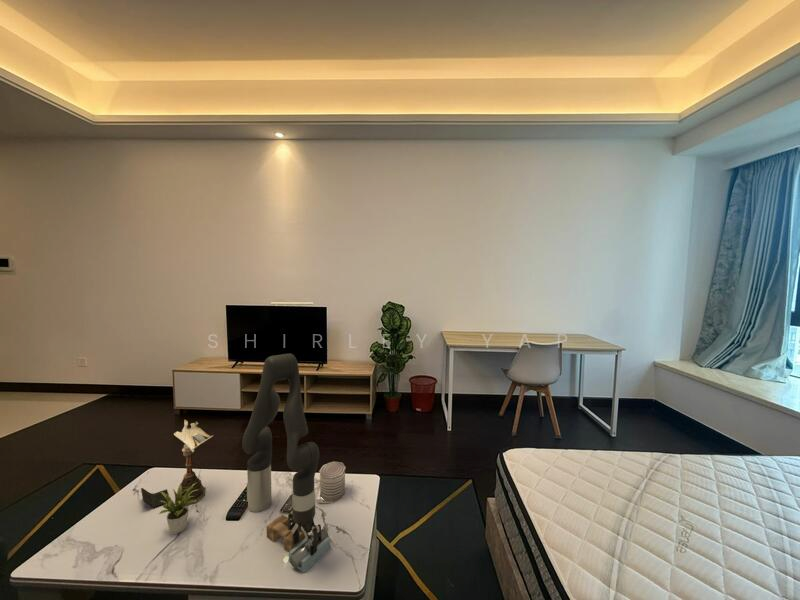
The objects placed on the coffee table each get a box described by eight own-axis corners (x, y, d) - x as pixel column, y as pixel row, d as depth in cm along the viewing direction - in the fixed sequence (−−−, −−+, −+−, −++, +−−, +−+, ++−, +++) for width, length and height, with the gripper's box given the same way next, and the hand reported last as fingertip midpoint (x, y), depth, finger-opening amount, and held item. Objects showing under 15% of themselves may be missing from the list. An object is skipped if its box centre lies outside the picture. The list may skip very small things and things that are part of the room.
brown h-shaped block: (266, 537, 122) (266, 523, 121) (282, 525, 128) (282, 511, 127) (291, 554, 114) (291, 539, 114) (307, 541, 120) (306, 526, 120)
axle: (297, 571, 107) (298, 560, 106) (289, 564, 109) (290, 553, 108) (328, 542, 119) (329, 532, 118) (320, 536, 121) (321, 526, 120)
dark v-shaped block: (176, 496, 142) (157, 485, 138) (161, 513, 138) (141, 502, 133) (167, 489, 149) (149, 478, 145) (153, 506, 145) (134, 495, 140)
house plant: (207, 529, 126) (205, 488, 125) (163, 550, 115) (161, 506, 114) (195, 511, 135) (194, 473, 134) (154, 529, 125) (152, 488, 124)
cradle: (288, 561, 111) (288, 551, 111) (315, 538, 121) (315, 529, 121) (304, 572, 107) (304, 562, 107) (330, 547, 117) (330, 538, 117)
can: (349, 496, 145) (349, 470, 144) (325, 506, 139) (325, 479, 138) (339, 483, 155) (339, 458, 154) (315, 491, 148) (315, 466, 147)
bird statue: (223, 490, 149) (221, 415, 147) (200, 510, 136) (197, 428, 134) (193, 485, 153) (191, 411, 151) (168, 503, 140) (165, 423, 138)
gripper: (327, 504, 110) (327, 550, 111) (298, 489, 118) (299, 532, 119) (309, 517, 104) (310, 566, 105) (281, 501, 112) (281, 546, 113)
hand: (304, 548), depth 112 cm, fingers open, 8 cm apart
